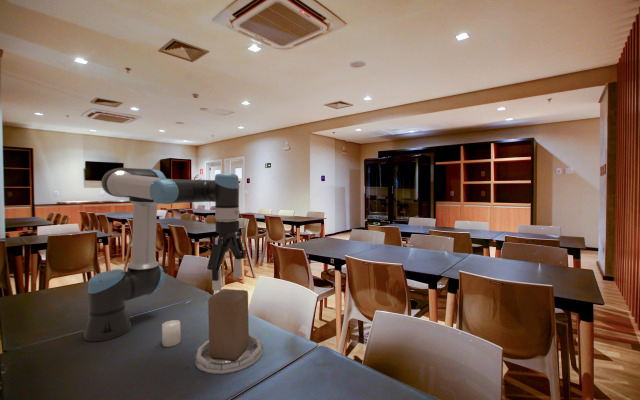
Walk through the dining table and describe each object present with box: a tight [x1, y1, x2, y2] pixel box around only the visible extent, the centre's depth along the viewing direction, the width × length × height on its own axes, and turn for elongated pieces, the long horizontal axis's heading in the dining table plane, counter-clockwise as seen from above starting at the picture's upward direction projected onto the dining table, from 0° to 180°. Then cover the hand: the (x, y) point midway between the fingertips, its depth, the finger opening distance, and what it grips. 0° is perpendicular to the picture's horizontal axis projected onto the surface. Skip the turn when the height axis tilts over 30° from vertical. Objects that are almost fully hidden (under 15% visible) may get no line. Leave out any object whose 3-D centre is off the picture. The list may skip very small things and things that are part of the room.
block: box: [207, 288, 250, 360], centre depth 102 cm, size 10×10×20 cm
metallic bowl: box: [194, 333, 264, 375], centre depth 102 cm, size 22×22×2 cm
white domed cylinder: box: [161, 319, 182, 348], centre depth 110 cm, size 6×6×7 cm
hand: (227, 283), depth 101 cm, fingers open, 13 cm apart
